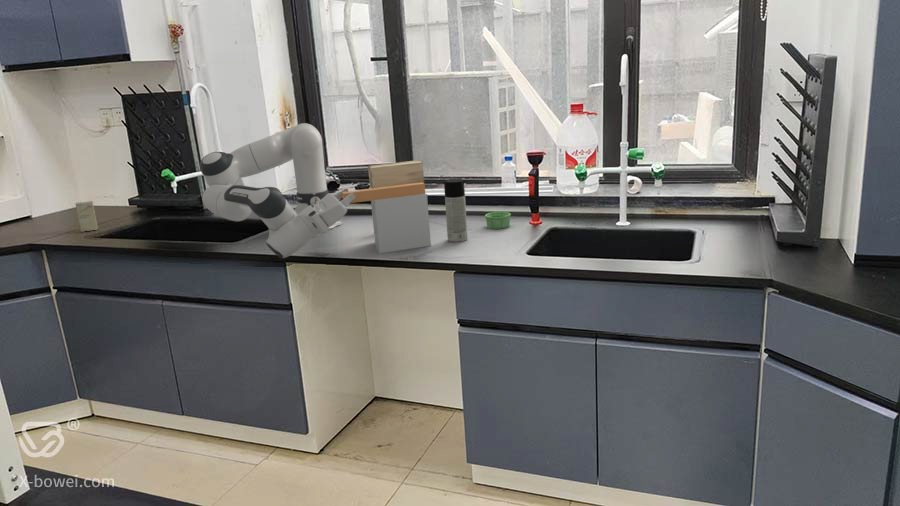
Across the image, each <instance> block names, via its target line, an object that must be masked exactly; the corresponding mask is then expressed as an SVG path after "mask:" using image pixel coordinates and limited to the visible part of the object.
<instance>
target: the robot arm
mask: <svg viewBox="0 0 900 506" xmlns="http://www.w3.org/2000/svg"><path fill="white" fill-rule="evenodd" d="M324 159H325V157H324V149H323V137H322V135H321V134H320V131H319V130H318V128H316V127H315V126H314V125H312V124H309V123H306V122H304V123H299V124H296V125H294V126H291V127H289V128H286V129H284V130H281V131H278V132H276V133H275V134H271V135H269V136H267V137H264V138H260V139H258V140H255V141H253V142H250V143H248V144H245V145H243V146H241V147H238V148H237V149H235V150H233V151H232V152H231V151H230V152H229V153H226V151H225V152H223V151H214V152H210V153H208V154H206V155H204V156H203V157H202V158H201V161H200V162H199V168H200V172H201V173H202V175H203V177H204V180H205V182H206V183H207V185H208V187H206V189H205V190H203V194H202V203H203V205H204V207H205V208H206V209H207V210H209V211H210V212H211V213H213V215H214V214H215V215H217V216H218V217H220V218H223V219H225V220H228V221H233V222H241V221H244V220H246V219H247V218H249V216H250V215H251V214H252V212H253V213H254V214H255V215H256V216H257V217H258V218H259V219H260V220H261V221H262V222H263V223H264V225H266V226H267V228H268V238H267V239H266V241H265V243H266V246H267V247H268V248H269V250H270V251H272V252H273V253H274V254H275V255H276V256H277V257H278V258H280V259H285V258H288V257H290V256H292V255H294V254H295V253H296V252H298V251H299V250H301V249H302V248H303V247H305V246H306V245H307V243H308V242H309V241H311V240H313V239H315V238H317V237H318V236H319V235H321V234H326V233H327V232H329V231H330V230H331V229H333V228H335V227H337V226H340V225H342V221H340V219H342V218H343V217H344V216H345V215H346V214H347V212H348V209H347V208H346V207H348V206H349V205H350V204H351V203H350V202H351V201H352V200H353V199H355V195H354V194H353V193H350V194H349V195H347V197H346V198H345V199H343V197H342V192H347V191H349V189H348V188H347V187H345V188H343V189H342V190H340V191H338V192H337V193H335V194H332V193H331V192H330V191H329V189H328V187H327V186H328V185H327V178H326V177H327V176H326V171H325V169H326V168H325V160H324ZM290 161H292V163H293V169H294V176H295V183H296V184H295V185H296V191H297V192H296V202H297V206H295V208H293V206H292V205H291V204H290V203H289V202H288V200H287V199H286V198H285V196H284V195H283V193H282V192H281V190H280V189H279V188H277V187H273V186H265V187H254V186H248V185H245V184H244V182H243V178H248V177H251V176H254V175H258V174H261V173H263V172H266V171H269V170H271V169H274V168H277V167H280V166H282V165H284V164H286V163H288V162H290Z"/></svg>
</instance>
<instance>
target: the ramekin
mask: <svg viewBox="0 0 900 506" xmlns="http://www.w3.org/2000/svg"><path fill="white" fill-rule="evenodd" d="M485 221H486V227H487V228H489V229H490V230H491V229H492V230H499V229H506V228H508V227H510V223H511V213H510V212H507V211H494V212H493V211H492V212H488V213H486V214H485Z"/></svg>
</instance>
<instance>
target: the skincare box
mask: <svg viewBox="0 0 900 506" xmlns="http://www.w3.org/2000/svg"><path fill="white" fill-rule="evenodd" d="M75 209H76V214H77V217H78V219H77V220H78V224H79V228H80V232H81V231H89V230H97V229H98V230H99V228H98V222H97V218H96V211H95V206H94V201H93V200H89V201H81V202H75ZM98 230H97V231H98Z"/></svg>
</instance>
